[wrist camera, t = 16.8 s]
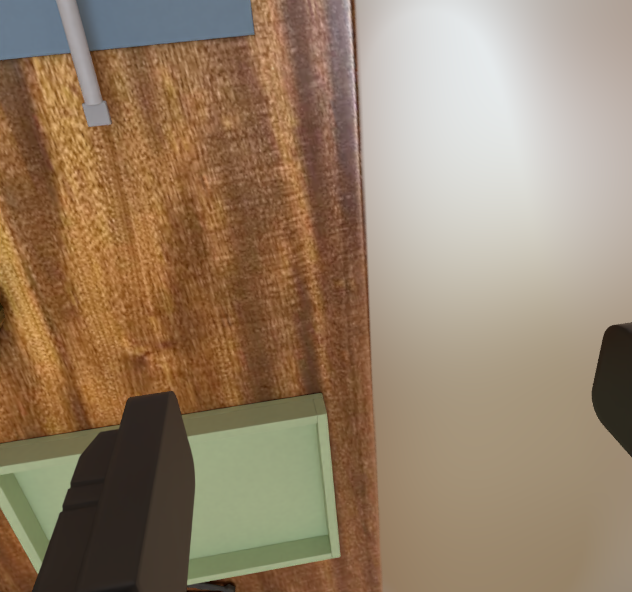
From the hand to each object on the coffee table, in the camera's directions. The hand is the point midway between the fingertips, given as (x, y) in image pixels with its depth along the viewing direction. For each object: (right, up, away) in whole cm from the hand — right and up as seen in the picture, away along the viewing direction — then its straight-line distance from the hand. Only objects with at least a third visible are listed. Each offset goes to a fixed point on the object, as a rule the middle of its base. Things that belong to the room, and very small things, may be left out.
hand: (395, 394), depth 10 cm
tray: (-13, -15, +36) cm, 41 cm away
